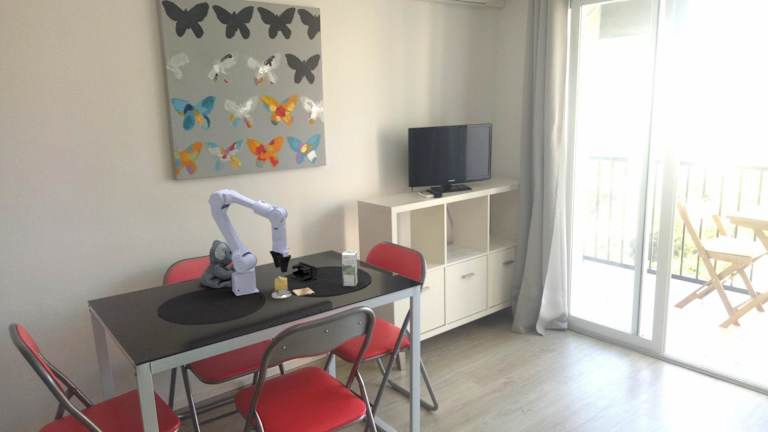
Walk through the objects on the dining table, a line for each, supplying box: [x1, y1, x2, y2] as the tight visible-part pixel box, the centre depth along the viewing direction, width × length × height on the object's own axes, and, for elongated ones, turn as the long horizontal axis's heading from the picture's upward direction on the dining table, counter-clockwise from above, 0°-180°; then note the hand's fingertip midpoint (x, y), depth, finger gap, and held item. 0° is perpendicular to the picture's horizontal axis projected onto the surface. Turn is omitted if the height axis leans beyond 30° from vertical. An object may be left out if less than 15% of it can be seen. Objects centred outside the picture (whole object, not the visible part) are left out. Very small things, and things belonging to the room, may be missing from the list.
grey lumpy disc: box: [271, 287, 293, 300], centre depth 222 cm, size 8×8×3 cm
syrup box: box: [341, 250, 358, 288], centre depth 233 cm, size 6×6×14 cm
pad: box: [292, 287, 315, 297], centre depth 226 cm, size 7×7×1 cm
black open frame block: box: [291, 261, 319, 283], centre depth 243 cm, size 10×7×7 cm
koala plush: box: [200, 238, 237, 289], centre depth 237 cm, size 17×18×20 cm
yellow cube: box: [274, 275, 288, 291], centre depth 222 cm, size 5×5×5 cm
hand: (281, 269), depth 222 cm, fingers open, 7 cm apart
